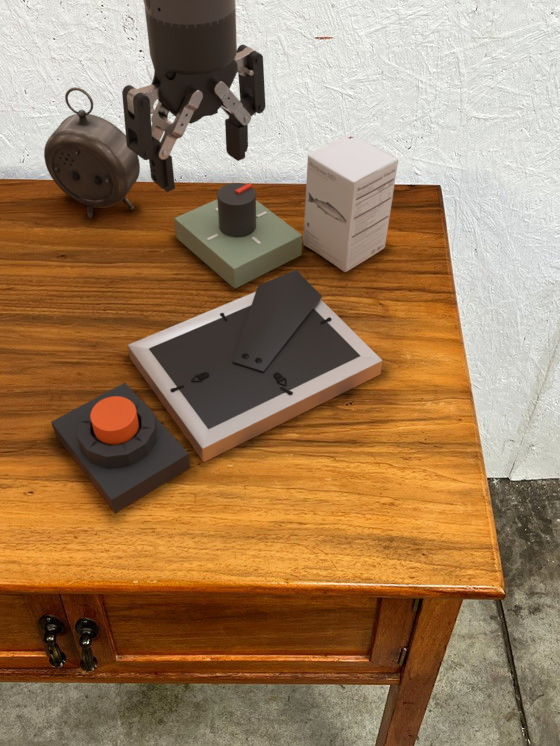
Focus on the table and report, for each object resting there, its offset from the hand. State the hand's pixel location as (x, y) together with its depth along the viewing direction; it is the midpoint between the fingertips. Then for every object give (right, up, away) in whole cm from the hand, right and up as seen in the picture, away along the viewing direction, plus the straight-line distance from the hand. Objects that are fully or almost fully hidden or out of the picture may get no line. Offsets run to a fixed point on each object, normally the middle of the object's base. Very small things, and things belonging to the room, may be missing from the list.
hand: (201, 171), depth 76 cm
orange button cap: (-7, -25, -6) cm, 26 cm away
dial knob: (+3, -2, +15) cm, 16 cm away
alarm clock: (-15, +1, +23) cm, 27 cm away
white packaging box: (+15, -5, +18) cm, 24 cm away
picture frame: (+5, -19, +4) cm, 20 cm away
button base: (-7, -27, -3) cm, 28 cm away
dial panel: (+3, -5, +18) cm, 18 cm away
